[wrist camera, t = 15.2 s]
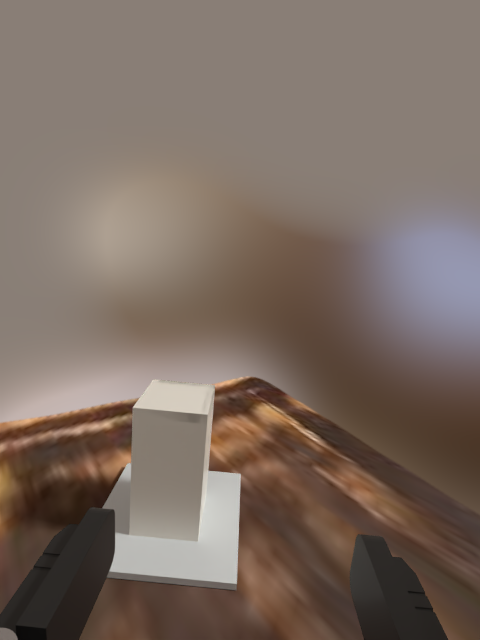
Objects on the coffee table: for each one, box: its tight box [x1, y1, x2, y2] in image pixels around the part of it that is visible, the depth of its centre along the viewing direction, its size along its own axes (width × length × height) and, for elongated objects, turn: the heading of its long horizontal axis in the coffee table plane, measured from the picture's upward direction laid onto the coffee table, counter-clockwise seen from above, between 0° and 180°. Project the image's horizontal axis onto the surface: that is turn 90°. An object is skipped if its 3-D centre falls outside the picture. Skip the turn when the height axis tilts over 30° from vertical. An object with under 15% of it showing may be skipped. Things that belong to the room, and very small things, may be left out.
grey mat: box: [103, 463, 241, 590], centre depth 32 cm, size 13×13×1 cm
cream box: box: [129, 380, 215, 542], centre depth 31 cm, size 6×6×12 cm
